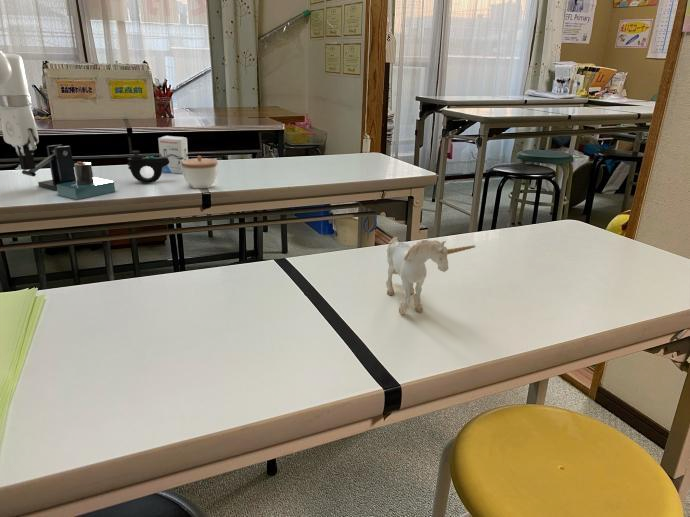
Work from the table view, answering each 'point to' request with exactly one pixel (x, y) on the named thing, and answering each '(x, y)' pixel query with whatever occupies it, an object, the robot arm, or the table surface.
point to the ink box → (173, 152)
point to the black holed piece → (139, 162)
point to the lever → (40, 164)
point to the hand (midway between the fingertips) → (28, 168)
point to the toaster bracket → (60, 167)
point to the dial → (84, 173)
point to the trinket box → (200, 171)
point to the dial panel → (85, 189)
